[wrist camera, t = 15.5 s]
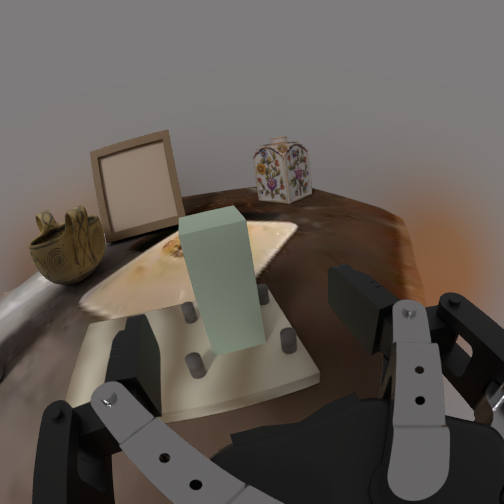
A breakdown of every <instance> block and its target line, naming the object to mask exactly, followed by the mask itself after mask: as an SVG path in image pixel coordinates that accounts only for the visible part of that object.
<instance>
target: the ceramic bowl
mask: <svg viewBox="0 0 504 504" xmlns="http://www.w3.org/2000/svg"><path fill="white" fill-rule="evenodd" d="M36 222H37V225H38V227H39V230H40V232H41V234H40V235H39V236H37V237H36V238H35V239H33V240H32V241H31V242H30V243H29V249H30V253H31V256H32V258H33V261H34V263H35V265H36V267H37V268H38V270H39V271H40V273H41V274H42V275H43V276H44V277H45V278H46V279H48V280H49V281H51V282H53V283H55V284H61V285H70V284H74V283H78V282H80V281H82V280H83V279H85V278H86V277H88V276H89V275H90V274H91V273H92V272H93V271H94V270H95V269H96V268H97V266H98V265H99V263H100V262H101V260H102V257H103V255H104V251H105V237H104V231H103V228H102V224H101V222H100V220H99V218H98V216H97V215H96V214H90V215H87V212H86V209H85V208H84V207H83V206H78V207H76V208H74V209H72V210H70V211H68V212H66V214H65V222H64V223H62V224H58V223H56V221H55V220H54V218H53V216H52V214H51V213H50V211H49V210H46V211H43V212H41V213H39V214H37V215H36Z"/></svg>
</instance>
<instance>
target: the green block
mask: <svg viewBox="0 0 504 504" xmlns="http://www.w3.org/2000/svg"><path fill="white" fill-rule="evenodd" d="M179 239H180V243H181V246H182V250H183V254H184V258H185V262H186V265H187V269H188V273H189V276H190V280H191V283H192V287H193V290H194V294H195V297H196V300H197V304H198V307H199V310H200V314H201V317H202V320H203V323H204V326H205V330H206V333H207V336H208V339H209V342H210V345H211V348H212V351H213V354H214V356H218V355H222V354H226V353H230V352H234V351H238V350H242V349H245V348H249V347H253V346H256V345H260V344H263V343H266V339H265V333H264V327H263V321H262V315H261V309H260V303H259V296H258V290H257V284H256V278H255V272H254V266H253V259H252V253H251V247H250V241H249V235H248V229H247V222H246V219H245V218H244V217H243V216H242V215H241V214H240V212H239V211H238V210H237V209H236V208H235V207H234V206H229V207H225V208H220V209H215V210H211V211H206V212H202V213H198V214H193V215H189V216H185V217H181V218H179Z"/></svg>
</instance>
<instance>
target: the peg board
mask: <svg viewBox="0 0 504 504" xmlns="http://www.w3.org/2000/svg"><path fill="white" fill-rule="evenodd" d="M257 290H258V296H259V303H260V309H261V315H262V321H263V327H264V333H265V339H266V343H263V344H260V345H256V346H253V347H249V348H245V349H242V350H238V351H234V352H230V353H226V354H222V355H218V356H214V354H213V351H212V348H211V345H210V342H209V339H208V336H207V333H206V330H205V326H204V323H203V320H202V317H201V314H200V310H199V307H198V304H197V301H193V302H185V303H183V304H180V305H176V306H171V307H167V308H163V309H158V310H154V311H149V312H145V313H140V314H145V315H146V317H147V319H148V321H149V323H150V326H151V328H152V331H153V333H154V335H155V337H156V340H157V342H158V345H159V349H160V355H161V404H162V417H158V418H159V419H160V420H161V421H163V422H164V423H169V422H175V421H181V420H187V419H193V418H198V417H203V416H208V415H213V414H217V413H222V412H226V411H230V410H234V409H238V408H242V407H246V406H250V405H253V404H257V403H260V402H264V401H267V400H270V399H274V398H277V397H280V396H283V395H286V394H289V393H292V392H295V391H298V390H301V389H304V388H307V387H309V386H312V385H315V384H317V383H320V371H319V370H318V368H317V366H316V365H315V363H314V362H313V360H312V358H311V357H310V355H309V354H308V352H307V350H306V349H305V347H304V346H303V344H302V342H301V341H300V339H299V338H298V336H297V334H296V330H295V329H294V328H292V326H291V325H290V323H289V321H288V320H287V318H286V317H285V315H284V313H283V312H282V310H281V309H280V307H279V305H278V304H277V302H276V301H275V299H274V297H273V296H272V294H271V292H270V291H269V289H268V286H267V284H265V283H264V284H263V283H262V284H258V285H257ZM140 314H135V315H140ZM135 315H131V316H135ZM127 317H130V316H126V317H121V318H117V319H112V320H107V321H102V322H97V323H92V324H90V325H89V327H88V330H87V333H86V335H85V338H84V341H83V344H82V347H81V350H80V353H79V356H78V359H77V362H76V365H75V368H74V371H73V374H72V378H71V381H70V385H69V388H68V392H67V395H66V399H65V401H66V402H68V403H69V404H70V405H71V407H72V408H74V407H77V406H80V405H82V404H85V403H88V402H90V401H91V396H92V393H93V392H94V390H95V389H96V388H97V387H98V386H100V385H102V384H104V381H105V375H106V370H107V365H108V360H109V358H110V357H109V355H110V350H111V346H112V341H113V339H114V337H115V336H116V334H117V333H118V332H119V331H121V330H125V325H126V320H127Z"/></svg>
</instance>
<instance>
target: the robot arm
mask: <svg viewBox="0 0 504 504" xmlns="http://www.w3.org/2000/svg"><path fill="white" fill-rule="evenodd" d="M328 301H329V304H330V307H331V309H332V310H333V312H334V313H335V314H336V315H337V316H338V317H339V318H340V320H341V321H342V322H343V323H344V324H345V325H346V326H347V328H348V329H349V330H350V331H351V332H352V333H353V334H354V336H355V337H356V338H357V339H358V340H359V341H360V343H361V344H362V345H363V346H364V347H365V348H366V350H367V351H368V352H369V353H370V354H371V355H373V354H375V353H377V352H379V351H382V353H383V356H382V364H381V376H380V386H379V394H378V398H367V399H359V398H358V397H357V395H356V394H355V392H354V393H352V394H350V395H348V396H345V397H343V398H341V399H338V400H336V401H334V402H331V403H329V404H326V405H325V406H324V407H322V408H321V409H319V410H318V411H316V412H315V413H313V414H312V415H310V416H309V417H307V418H305V419H304V420H302V421H300V422H298V423H291V424H282V425H271V426H262V427H258V428H254V429H251V430H247V431H243V432H239V433H235V434H230V435H231V439H232V442H233V443H231V444H229V445H227V446H225V447H224V448H222V449H220V450H219V451H218V452H217V453H215V454H214V455H213V456H212V457H211V458H210V459H208V458H206V457H205V456H204V455H202V454H201V453H200V452H198V451H197V450H196V449H195V448H193V447H192V446H191V445H190V444H188V443H187V442H186V441H185V440H183V439H182V438H181V437H180V436H179V435H177V434H176V433H175V432H174V431H173V430H172V429H170V428H169V427H168V426H167V425H166V424H165V423H164V422H163V421H161V420H160V419H159V418H158V417H162V404H161V355H160V349H159V345H158V342H157V340H156V337H155V335H154V333H153V331H152V328H151V326H150V323H149V321H148V319H147V317H146V315H145V314H140V315H135V316H130V317H127V320H126V325H125V330H121V331H119V332H118V333H117V334H116V336H115V337H114V339H113V341H112V346H111V350H110V355H109V357H110V358H109V360H108V365H107V370H106V375H105V381H104V384H102V385H100V386H98V387H97V388H96V389H95V390H94V392H93V393H92V396H91V401H90V402H88V403H85V404H82V405H80V406H77V407H74V408H72V407H71V405H70V404H69V403H68V402H66V401H63V400H59V401H55V402H53V403H51V404H50V405H49V406H48V407H47V408H46V409H45V411H44V413H43V416H42V421H41V426H40V432H39V438H38V444H37V451H36V458H35V467H34V478H33V496H32V504H115V499H114V489H113V476H112V454H115V453H118V452H120V451H124V453H125V454H126V455H127V456H128V457H129V458H130V460H131V461H132V462H133V463H134V464H135V465H136V466H137V467H138V468H139V470H140V471H141V472H142V473H143V474H144V475H145V476H146V477H147V478H148V479H149V480H150V481H151V482H152V483H153V484H154V485H155V486H156V487H157V488H158V489H159V490H160V491H161V492H162V493H163V494H164V495H165V496H166V497H167V498H169V499H170V500H171V501H172V502H173V503H174V504H504V329H502V327H500V326H499V325H498V324H497V323H496V322H494V321H493V320H492V319H491V318H490V317H489V316H487V315H486V314H485V313H484V312H482V311H481V310H480V309H479V308H477V307H476V306H475V305H473V304H472V303H471V302H470V301H469V300H467V299H466V298H465V297H463V296H462V295H460V294H457V293H445V294H443V295H442V296H441V297H440V300H439V304H438V305H437V306H431V307H426V308H425V307H424V306H423V305H422V304H420V303H419V302H417V301H413V300H401V301H400V300H399V299H398V298H396V297H395V296H394V295H393V294H392V293H390V292H389V291H388V290H387V289H385V288H384V287H383V286H381V285H380V284H379V283H378V282H375V280H374V279H373V278H371V277H370V276H369V275H367V274H364V273H362V272H359V271H355V270H353V269H352V268H351V267H350V266H348V265H347V264H342V265H338V266H335V267H331V268H330V269H329V271H328ZM458 335H460V336H461V337H462V338H463V339H464V340H465V341H467V342H468V343H469V344H470V345H471V347H472V350H473V355H472V357H470V356H469V355H468V354H467V353H466V352H465V351H464V350H463V349H462V348H461V347H460V346H459V345H458V344H457V343H456V340H457V338H458ZM3 373H4V363H3V362H2V360H1V359H0V380H1V378H2V376H3ZM442 374H443V375H444V376H445V377H446V378H447V379H448V381H449V382H450V383H451V384H452V385H453V386H454V388H455V389H456V390H457V391H458V392H459V393H460V395H461V396H462V397H463V398H464V399H465V401H466V402H467V403H468V404H469V405H470V407H471V408H472V409H473V410H474V416H475V420H474V421H469V420H464V419H459V418H455V417H451V416H446V415H445V407H444V390H443V379H442Z"/></svg>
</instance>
